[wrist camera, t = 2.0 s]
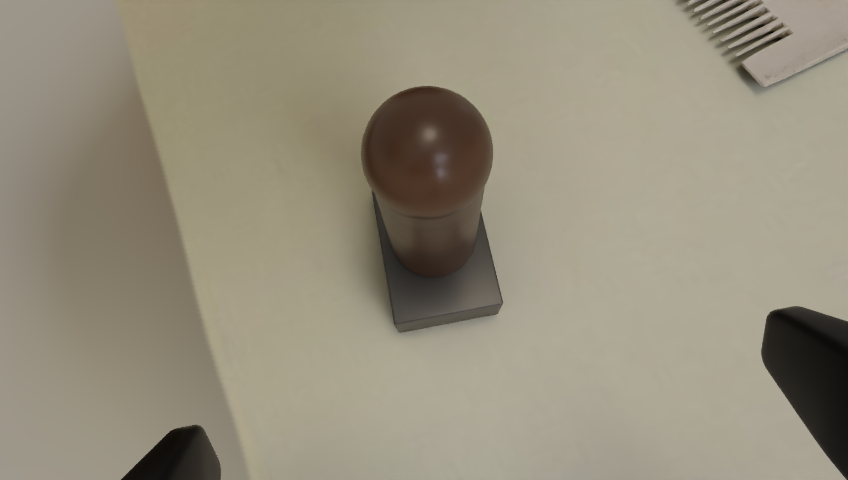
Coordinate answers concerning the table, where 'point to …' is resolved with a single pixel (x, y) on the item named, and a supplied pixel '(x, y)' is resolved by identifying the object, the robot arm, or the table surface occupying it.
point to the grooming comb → (785, 33)
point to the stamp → (432, 206)
